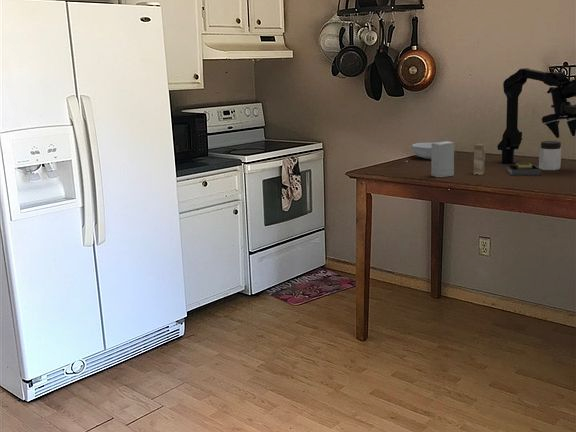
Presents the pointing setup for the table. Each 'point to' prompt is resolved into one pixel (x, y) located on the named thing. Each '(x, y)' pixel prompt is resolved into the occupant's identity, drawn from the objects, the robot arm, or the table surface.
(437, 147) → the skincare box
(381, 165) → the table surface
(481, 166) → the tan square peg
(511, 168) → the gray square tray
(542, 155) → the jar
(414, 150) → the serving bowl
